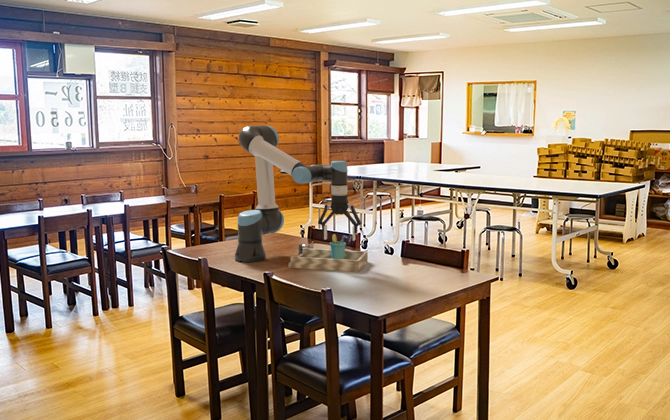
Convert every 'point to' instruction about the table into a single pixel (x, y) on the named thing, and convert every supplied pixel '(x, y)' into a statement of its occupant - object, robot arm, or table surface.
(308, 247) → the winch
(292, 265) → the tray
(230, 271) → the table surface
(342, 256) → the cup
